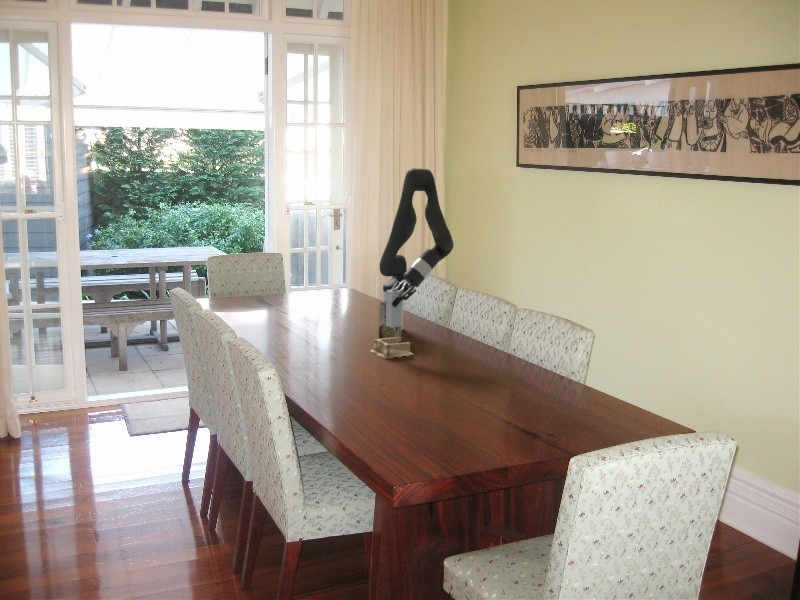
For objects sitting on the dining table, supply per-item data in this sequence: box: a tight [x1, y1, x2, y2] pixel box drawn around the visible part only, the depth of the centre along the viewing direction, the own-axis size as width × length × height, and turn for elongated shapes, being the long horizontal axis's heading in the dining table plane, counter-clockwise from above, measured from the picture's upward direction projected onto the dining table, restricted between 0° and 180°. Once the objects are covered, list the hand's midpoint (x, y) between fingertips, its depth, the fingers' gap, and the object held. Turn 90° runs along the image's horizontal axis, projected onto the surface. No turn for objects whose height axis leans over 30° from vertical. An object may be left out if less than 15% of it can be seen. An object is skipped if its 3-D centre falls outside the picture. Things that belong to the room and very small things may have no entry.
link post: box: [386, 289, 402, 327], centre depth 347 cm, size 4×4×15 cm
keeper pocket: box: [369, 337, 414, 360], centre depth 350 cm, size 12×13×5 cm
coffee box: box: [378, 301, 402, 343], centre depth 370 cm, size 9×6×16 cm
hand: (390, 304), depth 346 cm, fingers closed on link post, 4 cm apart
